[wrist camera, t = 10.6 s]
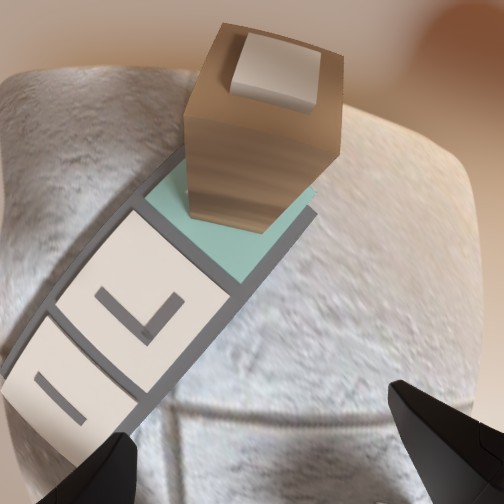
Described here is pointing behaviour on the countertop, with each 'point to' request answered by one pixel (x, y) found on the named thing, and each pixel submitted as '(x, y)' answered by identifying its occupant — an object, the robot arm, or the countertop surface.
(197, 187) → the brown wooden block
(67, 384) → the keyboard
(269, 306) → the countertop surface
